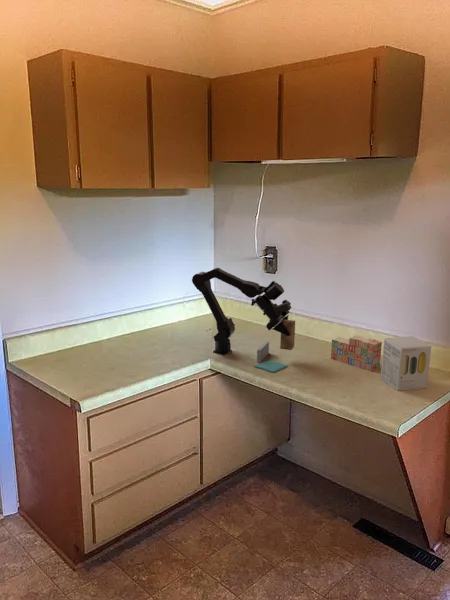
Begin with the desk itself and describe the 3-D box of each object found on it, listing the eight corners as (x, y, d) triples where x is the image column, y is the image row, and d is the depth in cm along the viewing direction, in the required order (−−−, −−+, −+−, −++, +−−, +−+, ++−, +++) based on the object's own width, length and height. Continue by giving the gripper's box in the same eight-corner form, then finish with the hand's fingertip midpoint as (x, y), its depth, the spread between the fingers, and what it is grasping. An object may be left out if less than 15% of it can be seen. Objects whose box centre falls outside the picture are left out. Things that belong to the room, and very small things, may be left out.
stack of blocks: (330, 359, 243) (331, 332, 240) (338, 356, 248) (340, 330, 245) (372, 372, 228) (374, 344, 225) (380, 368, 232) (382, 341, 229)
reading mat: (254, 366, 232) (254, 365, 232) (268, 361, 239) (268, 359, 239) (273, 372, 226) (273, 371, 225) (287, 366, 233) (287, 365, 233)
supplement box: (397, 391, 208) (401, 348, 204) (379, 378, 221) (383, 337, 217) (427, 388, 211) (432, 345, 207) (409, 376, 224) (413, 335, 220)
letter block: (280, 348, 238) (281, 321, 235) (283, 345, 242) (284, 319, 239) (291, 350, 236) (292, 323, 233) (294, 346, 240) (295, 320, 237)
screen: (256, 361, 238) (257, 349, 237) (265, 352, 250) (265, 341, 249) (260, 362, 238) (260, 350, 237) (268, 353, 250) (268, 341, 248)
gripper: (274, 300, 226) (299, 328, 225) (285, 291, 243) (309, 317, 242) (256, 316, 231) (280, 344, 230) (268, 306, 248) (291, 332, 247)
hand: (290, 333), depth 237 cm, fingers closed on letter block, 5 cm apart
